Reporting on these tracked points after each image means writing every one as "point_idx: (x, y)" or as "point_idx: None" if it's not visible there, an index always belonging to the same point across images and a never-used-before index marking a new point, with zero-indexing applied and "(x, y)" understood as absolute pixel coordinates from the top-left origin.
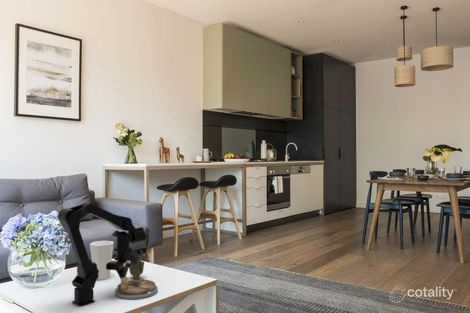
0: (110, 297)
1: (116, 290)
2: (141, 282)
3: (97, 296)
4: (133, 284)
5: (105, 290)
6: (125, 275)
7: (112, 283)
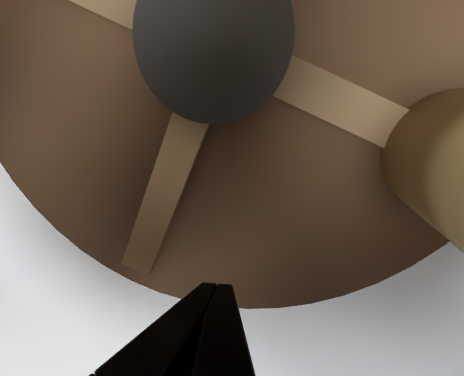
0: (436, 262)
1: None
2: (78, 35)
3: (414, 371)
4: (289, 64)
5: None
6: (176, 339)
7: (94, 372)
